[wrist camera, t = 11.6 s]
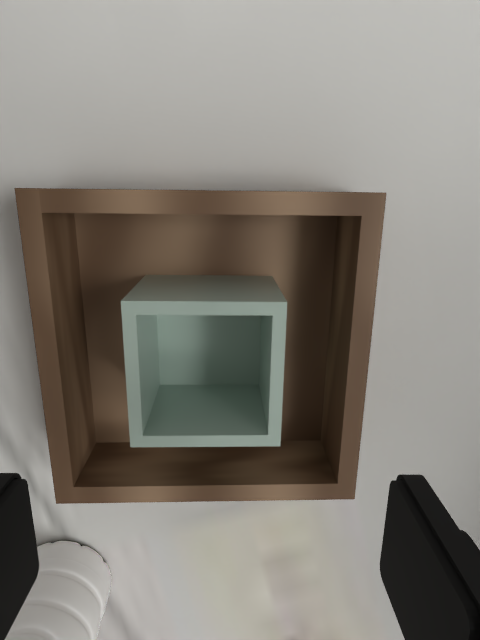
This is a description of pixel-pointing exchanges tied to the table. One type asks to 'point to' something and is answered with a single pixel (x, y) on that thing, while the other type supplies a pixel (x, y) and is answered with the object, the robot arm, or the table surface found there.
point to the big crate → (201, 259)
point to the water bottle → (64, 595)
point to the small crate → (204, 360)
